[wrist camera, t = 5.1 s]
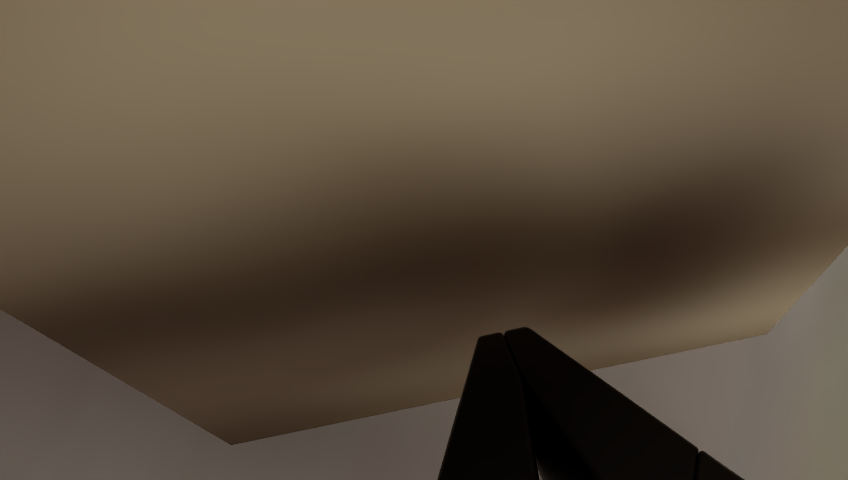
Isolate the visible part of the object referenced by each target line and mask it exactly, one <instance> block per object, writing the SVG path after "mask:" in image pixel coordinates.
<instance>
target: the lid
mask: <svg viewBox="0 0 848 480" xmlns="http://www.w3.org/2000/svg"><path fill="white" fill-rule="evenodd" d="M847 246H848V0H0V309H1V310H3V311H5V312H6V313H8V314H10V315H11V316H13V317H15V318H16V319H18V320H20V321H22V322H23V323H25V324H27V325H28V326H30V327H32V328H33V329H35V330H37V331H39V332H40V333H42V334H44V335H45V336H47V337H49V338H50V339H52V340H54V341H56V342H57V343H59V344H61V345H62V346H64V347H66V348H67V349H69V350H71V351H73V352H74V353H76V354H78V355H79V356H81V357H83V358H84V359H86V360H88V361H89V362H91V363H93V364H95V365H96V366H98V367H100V368H101V369H103V370H105V371H106V372H108V373H110V374H112V375H113V376H115V377H117V378H118V379H120V380H122V381H123V382H125V383H127V384H129V385H130V386H132V387H134V388H135V389H137V390H139V391H140V392H142V393H144V394H146V395H147V396H149V397H151V398H152V399H154V400H156V401H157V402H159V403H161V404H162V405H164V406H166V407H168V408H169V409H171V410H173V411H174V412H176V413H178V414H179V415H181V416H183V417H185V418H186V419H188V420H190V421H191V422H193V423H195V424H196V425H198V426H200V427H202V428H203V429H205V430H207V431H208V432H210V433H212V434H213V435H215V436H217V437H219V438H220V439H222V440H224V441H225V442H227V443H229V444H230V445H234V444H238V443H243V442H248V441H253V440H258V439H262V438H267V437H272V436H277V435H282V434H287V433H291V432H296V431H301V430H306V429H311V428H316V427H320V426H325V425H330V424H335V423H340V422H344V421H349V420H354V419H359V418H364V417H369V416H373V415H378V414H383V413H388V412H393V411H398V410H402V409H407V408H412V407H417V406H422V405H426V404H431V403H436V402H441V401H446V400H451V399H455V398H460V397H461V395H462V392H463V388H464V385H465V381H466V378H467V374H468V371H469V367H470V364H471V360H472V357H473V353H474V350H475V346H476V343H477V340H478V338H479V337H480V336H483V335H488V334H493V333H497V332H500V333H502V334H503V335H504V333H505V332H506V331H507V330H512V329H516V328H521V327H528V328H530V329H532V330H533V331H535V332H536V333H537V334H539V335H540V336H542V337H543V338H544V339H546V340H547V341H549V342H550V343H551V344H553V345H554V346H556V347H557V348H558V349H560V350H561V351H563V352H564V353H565V354H567V355H568V356H570V357H571V358H572V359H574V360H575V361H577V362H578V363H579V364H581V365H582V366H584V367H585V368H586V369H588V370H589V371H590V370H595V369H600V368H605V367H610V366H615V365H619V364H624V363H629V362H634V361H639V360H643V359H648V358H653V357H658V356H663V355H668V354H672V353H677V352H682V351H687V350H692V349H697V348H701V347H706V346H711V345H716V344H721V343H725V342H730V341H735V340H740V339H745V338H750V337H754V336H759V335H764V334H767V333H768V332H769V331H770V330H771V329H772V328H773V327H774V326H775V324H776V323H777V322H778V321H779V320H780V319H781V318H782V317H783V316H784V315H785V314H786V312H787V311H788V310H789V309H790V308H791V307H792V306H793V305H794V304H795V303H796V302H797V300H798V299H799V298H800V297H801V296H802V295H803V294H804V293H805V292H806V291H807V289H808V288H809V287H810V286H811V285H812V284H813V283H814V282H815V281H816V280H817V279H818V277H819V276H820V275H821V274H822V273H823V272H824V271H825V270H826V269H827V268H828V267H829V265H830V264H831V263H832V262H833V261H834V260H835V259H836V258H837V257H838V256H839V254H840V253H841V252H842V251H843V250H844V249H845V248H846V247H847Z"/></svg>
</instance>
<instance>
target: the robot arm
mask: <svg viewBox="0 0 848 480" xmlns="http://www.w3.org/2000/svg"><path fill="white" fill-rule="evenodd" d="M538 470H539V473H540V475H541V477H542V480H744V479H743V478H741V477H740V476H738V475H737V474H735V473H734V472H732V471H731V470H729V469H728V468H727V467H725V466H724V465H722V464H721V463H720V462H718V461H717V460H715V459H714V458H713V457H711V456H710V455H708V454H707V453H706V452H704V451H700V452H699V453H698V448H697V447H696V446H694V445H693V444H692V443H690V442H689V441H687V440H686V439H685V438H683V437H682V436H680V435H679V434H678V433H676V432H675V431H673V430H672V429H671V428H669V427H668V426H666V425H665V424H664V423H662V422H661V421H659V420H658V419H657V418H655V417H654V416H652V415H651V414H650V413H648V412H647V411H645V410H644V409H643V408H641V407H640V406H638V405H637V404H636V403H634V402H633V401H631V400H630V399H628V398H627V397H626V396H624V395H623V394H621V393H620V392H619V391H617V390H616V389H614V388H613V387H612V386H610V385H609V384H607V383H606V382H605V381H603V380H602V379H600V378H599V377H598V376H596V375H595V374H593V373H592V372H591V371H589V370H588V369H586V368H585V367H584V366H582V365H581V364H579V363H578V362H577V361H575V360H574V359H572V358H571V357H570V356H568V355H567V354H565V353H564V352H563V351H561V350H560V349H558V348H557V347H556V346H554V345H553V344H551V343H550V342H549V341H547V340H546V339H544V338H543V337H542V336H540V335H539V334H537V333H536V332H535V331H533V330H532V329H530V328H528V327H521V328H516V329H512V330H507V331H506V332H505V333H504V335H503V334H502V333H500V332H497V333H493V334H488V335H483V336H480V337H479V338H478V340H477V343H476V346H475V350H474V353H473V357H472V360H471V364H470V367H469V371H468V374H467V378H466V381H465V385H464V388H463V392H462V395H461V399H460V402H459V406H458V409H457V413H456V416H455V420H454V423H453V427H452V430H451V434H450V437H449V441H448V444H447V448H446V451H445V455H444V458H443V462H442V465H441V469H440V472H439V476H438V479H437V480H539V475H538Z"/></svg>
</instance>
